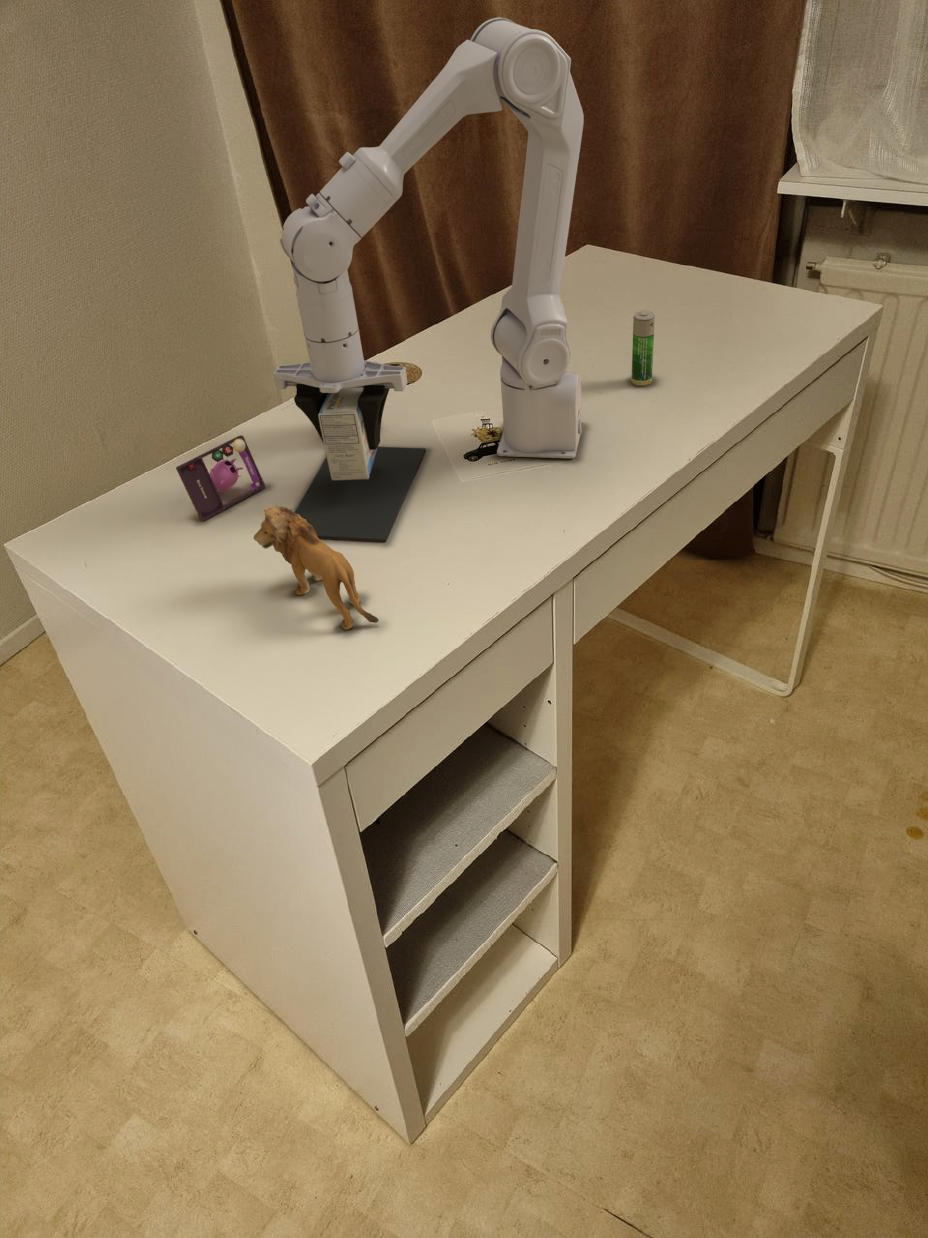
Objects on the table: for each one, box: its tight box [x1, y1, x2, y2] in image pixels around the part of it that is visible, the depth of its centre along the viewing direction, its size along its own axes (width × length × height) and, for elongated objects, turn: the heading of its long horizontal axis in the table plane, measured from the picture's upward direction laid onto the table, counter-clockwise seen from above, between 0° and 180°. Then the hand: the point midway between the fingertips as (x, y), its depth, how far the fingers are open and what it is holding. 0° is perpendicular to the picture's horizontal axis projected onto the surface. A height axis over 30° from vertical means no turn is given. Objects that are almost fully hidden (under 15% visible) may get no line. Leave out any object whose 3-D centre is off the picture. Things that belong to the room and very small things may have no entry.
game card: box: [175, 435, 266, 521], centre depth 111 cm, size 7×5×9 cm
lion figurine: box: [253, 504, 380, 630], centre depth 93 cm, size 15×5×9 cm, turn 50°
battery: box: [631, 310, 656, 387], centre depth 122 cm, size 3×3×10 cm
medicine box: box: [318, 388, 379, 480], centre depth 107 cm, size 8×4×9 cm, turn 175°
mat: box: [294, 446, 427, 543], centre depth 111 cm, size 12×19×1 cm, turn 168°
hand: (352, 444), depth 108 cm, fingers closed on medicine box, 5 cm apart
